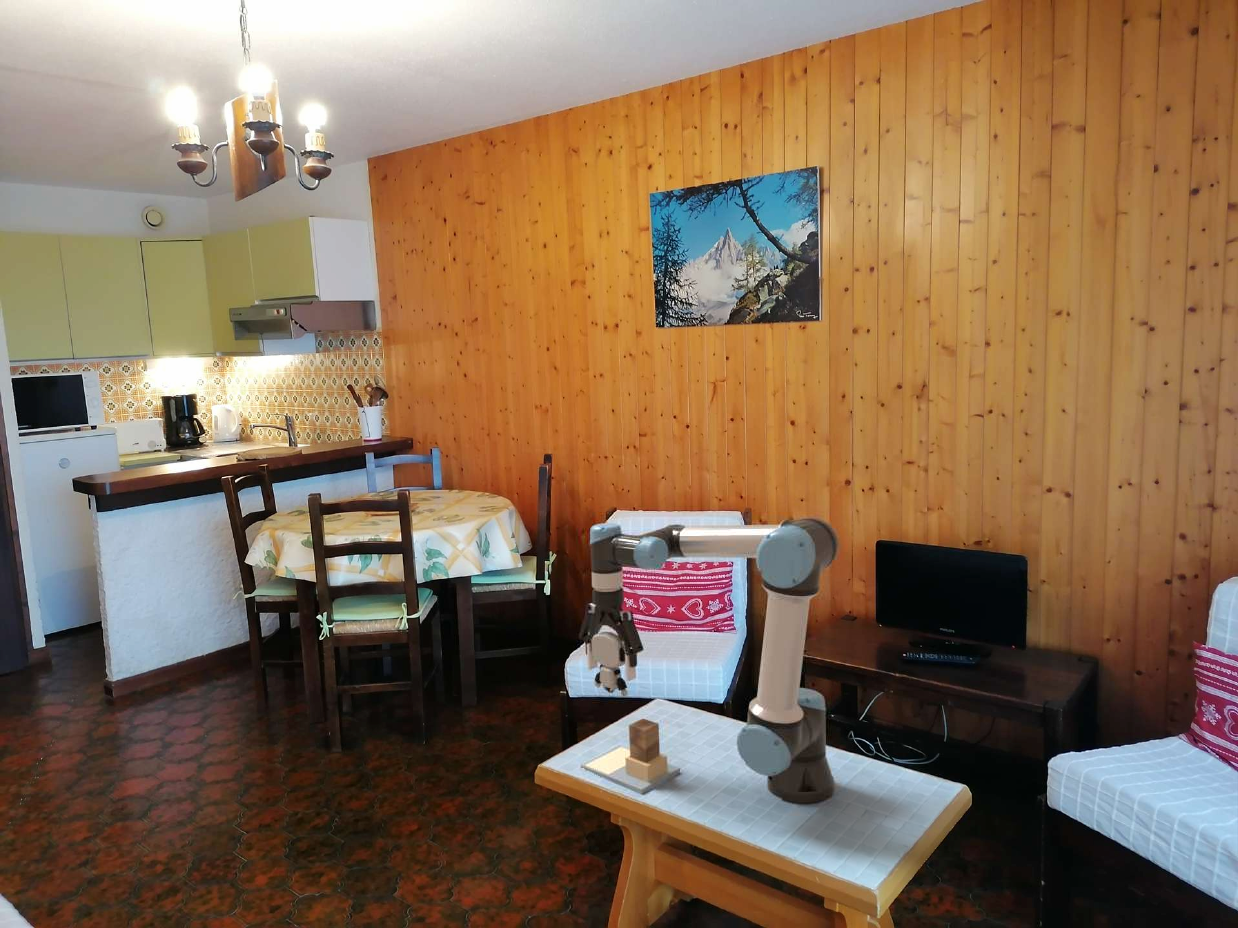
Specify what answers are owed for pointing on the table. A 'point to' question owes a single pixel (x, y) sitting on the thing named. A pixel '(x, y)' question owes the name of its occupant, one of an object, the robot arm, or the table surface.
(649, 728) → the walnut block
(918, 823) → the table surface
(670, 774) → the board
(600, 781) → the table surface
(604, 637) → the robot toy
